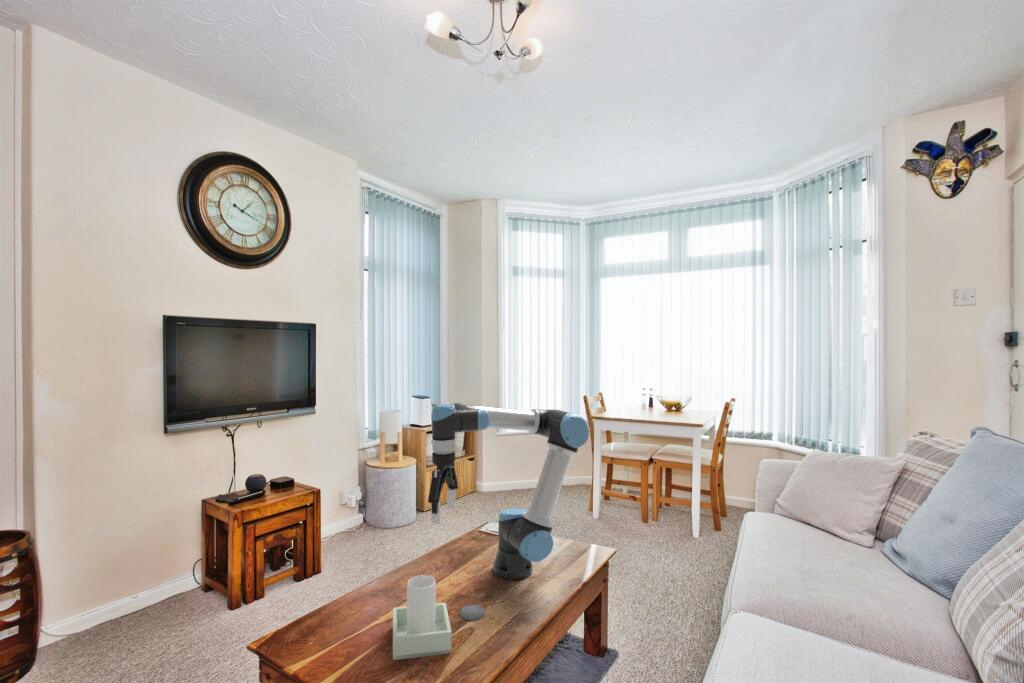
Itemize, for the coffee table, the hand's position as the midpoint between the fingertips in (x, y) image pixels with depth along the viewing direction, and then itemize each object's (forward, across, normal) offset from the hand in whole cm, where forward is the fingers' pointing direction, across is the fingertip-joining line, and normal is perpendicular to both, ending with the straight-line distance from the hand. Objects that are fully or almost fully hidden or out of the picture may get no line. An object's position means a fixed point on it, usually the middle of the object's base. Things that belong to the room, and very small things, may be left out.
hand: (443, 515), depth 164 cm
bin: (+30, +20, +1) cm, 36 cm away
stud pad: (+30, +2, +10) cm, 32 cm away
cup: (+29, +19, +1) cm, 35 cm away
